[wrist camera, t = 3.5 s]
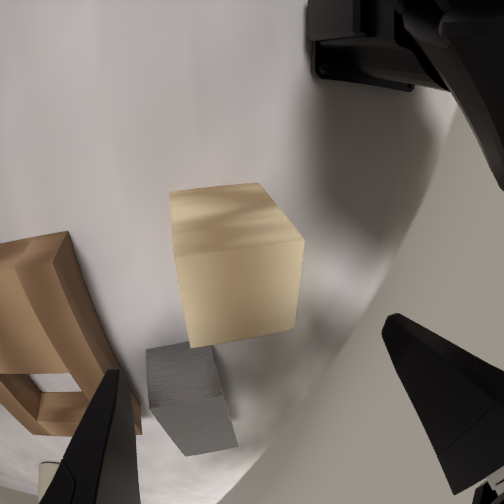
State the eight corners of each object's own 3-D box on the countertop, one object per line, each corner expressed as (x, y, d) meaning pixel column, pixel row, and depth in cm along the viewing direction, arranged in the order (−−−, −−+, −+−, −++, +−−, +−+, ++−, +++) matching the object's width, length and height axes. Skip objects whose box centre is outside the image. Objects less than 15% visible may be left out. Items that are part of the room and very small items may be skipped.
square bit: (258, 182, 16) (304, 239, 11) (257, 255, 18) (293, 329, 13) (169, 191, 15) (174, 257, 10) (179, 267, 17) (190, 348, 12)
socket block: (67, 230, 14) (52, 262, 12) (140, 405, 23) (142, 434, 21) (-62, 257, 12) (-82, 285, 9) (36, 408, 21) (32, 434, 18)
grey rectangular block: (208, 335, 21) (222, 395, 17) (225, 399, 26) (238, 446, 22) (146, 347, 20) (149, 408, 16) (177, 408, 25) (185, 456, 21)
